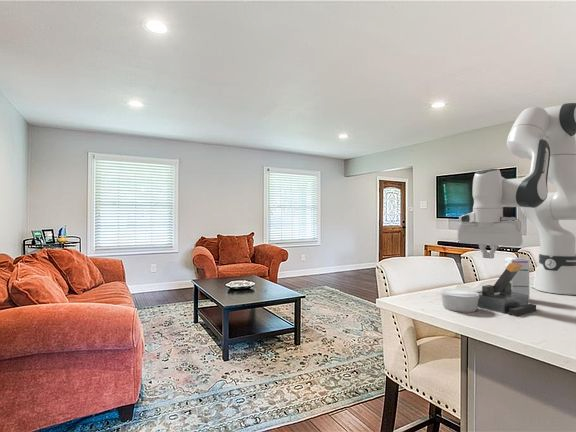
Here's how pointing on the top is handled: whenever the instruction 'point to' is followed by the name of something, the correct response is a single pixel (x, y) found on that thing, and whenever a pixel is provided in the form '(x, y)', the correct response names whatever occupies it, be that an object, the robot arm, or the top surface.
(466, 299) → the ramekin
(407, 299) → the top surface
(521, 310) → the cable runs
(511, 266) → the lever
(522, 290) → the syrup box
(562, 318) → the top surface
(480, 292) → the stepped grey base plate
